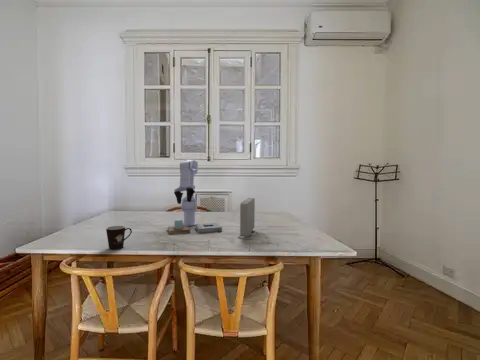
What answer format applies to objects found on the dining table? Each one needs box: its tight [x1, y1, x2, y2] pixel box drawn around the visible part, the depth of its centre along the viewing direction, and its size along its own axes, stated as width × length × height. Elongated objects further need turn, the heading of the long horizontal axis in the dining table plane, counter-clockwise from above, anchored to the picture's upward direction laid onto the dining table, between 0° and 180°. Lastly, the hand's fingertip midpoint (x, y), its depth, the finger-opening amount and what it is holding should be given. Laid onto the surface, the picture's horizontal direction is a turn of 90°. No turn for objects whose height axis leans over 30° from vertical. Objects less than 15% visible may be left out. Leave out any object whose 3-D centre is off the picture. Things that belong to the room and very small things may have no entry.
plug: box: [173, 218, 184, 229], centre depth 181 cm, size 3×4×7 cm
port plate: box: [194, 222, 223, 234], centre depth 186 cm, size 14×14×2 cm
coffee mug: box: [105, 225, 132, 251], centre depth 146 cm, size 12×9×10 cm
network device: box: [237, 197, 258, 240], centre depth 173 cm, size 26×9×20 cm, turn 168°
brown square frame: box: [167, 225, 191, 235], centre depth 181 cm, size 12×12×2 cm
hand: (183, 202), depth 174 cm, fingers open, 7 cm apart
